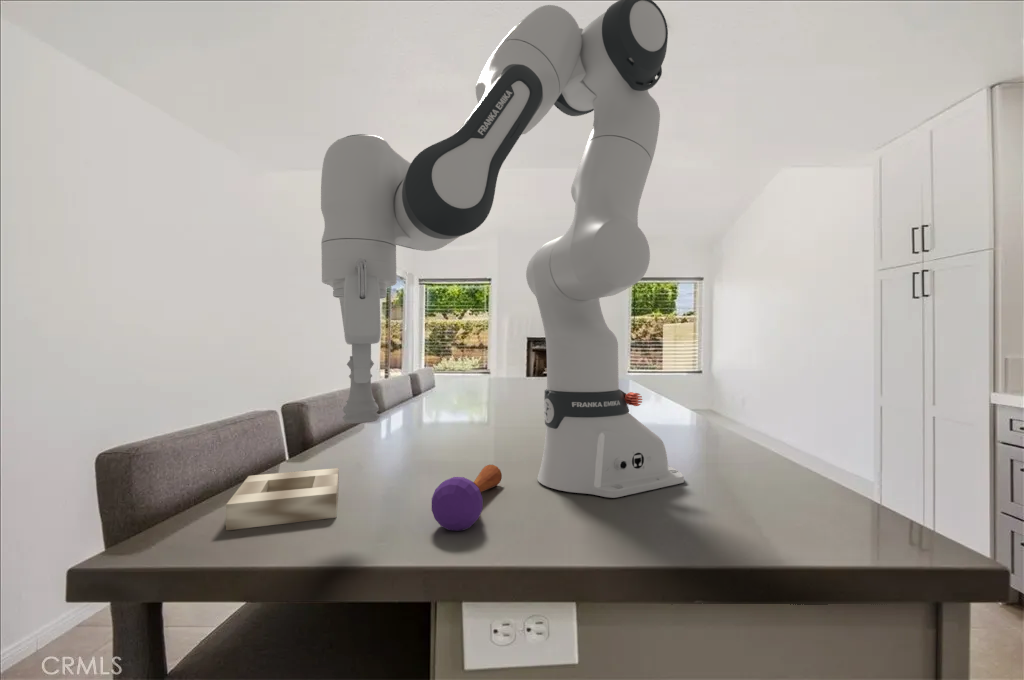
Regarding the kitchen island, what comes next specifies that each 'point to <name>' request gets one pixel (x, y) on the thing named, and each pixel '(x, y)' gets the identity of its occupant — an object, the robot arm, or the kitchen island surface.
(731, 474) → the kitchen island surface
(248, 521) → the square wooden frame
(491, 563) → the kitchen island surface
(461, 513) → the purple maraca
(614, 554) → the kitchen island surface
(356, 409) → the rook chess piece
